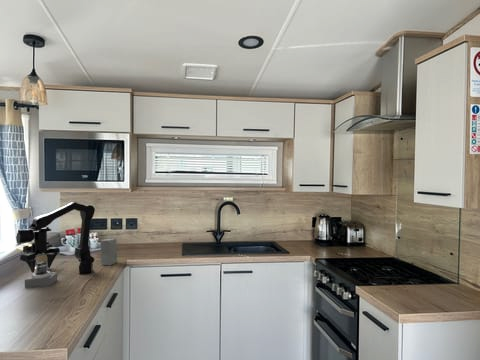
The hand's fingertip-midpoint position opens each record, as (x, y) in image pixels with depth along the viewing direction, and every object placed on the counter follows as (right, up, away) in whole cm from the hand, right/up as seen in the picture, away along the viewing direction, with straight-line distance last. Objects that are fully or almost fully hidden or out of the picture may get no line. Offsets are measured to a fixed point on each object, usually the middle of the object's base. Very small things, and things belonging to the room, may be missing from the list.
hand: (41, 269), depth 167 cm
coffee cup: (-14, -7, +25) cm, 30 cm away
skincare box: (+20, -7, +37) cm, 43 cm away
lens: (0, -3, 0) cm, 3 cm away
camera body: (0, -7, 0) cm, 7 cm away
